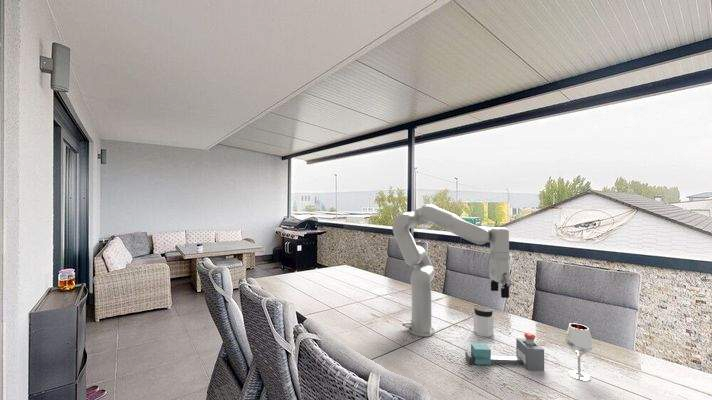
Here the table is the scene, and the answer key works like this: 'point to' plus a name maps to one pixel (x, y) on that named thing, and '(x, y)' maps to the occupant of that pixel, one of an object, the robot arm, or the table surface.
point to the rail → (497, 360)
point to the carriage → (481, 353)
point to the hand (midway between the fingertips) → (499, 294)
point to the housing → (530, 354)
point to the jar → (483, 321)
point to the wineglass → (579, 346)
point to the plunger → (529, 339)
